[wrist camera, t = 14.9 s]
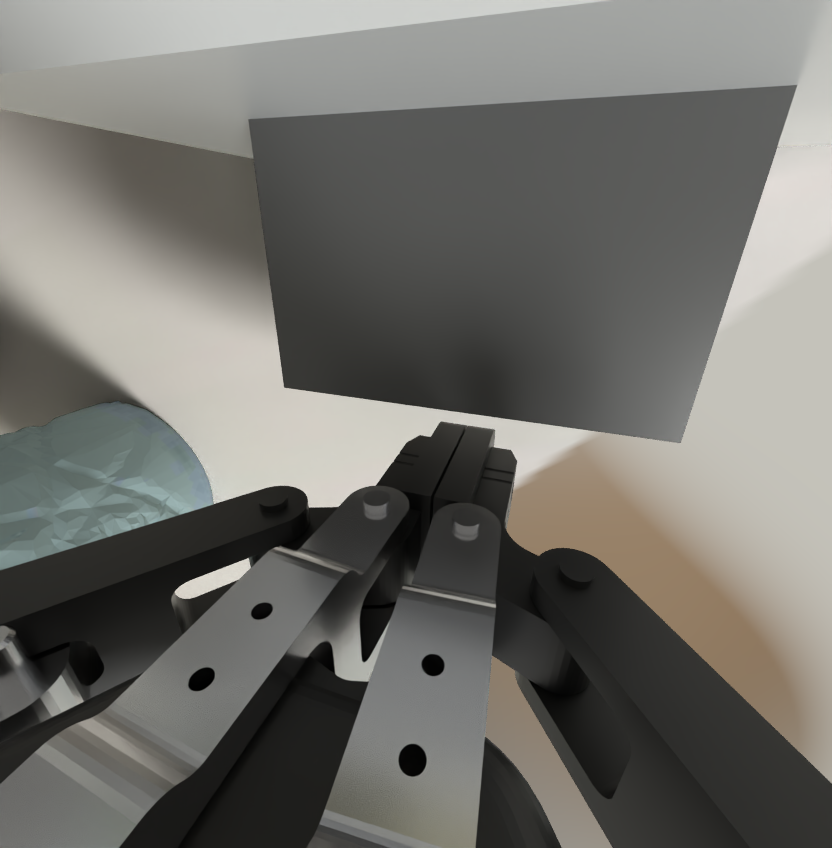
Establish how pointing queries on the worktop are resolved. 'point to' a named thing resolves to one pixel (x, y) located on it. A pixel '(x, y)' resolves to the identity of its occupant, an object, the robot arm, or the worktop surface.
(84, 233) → the worktop surface
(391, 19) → the drawer
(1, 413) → the worktop surface
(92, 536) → the teal planter pot
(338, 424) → the worktop surface
